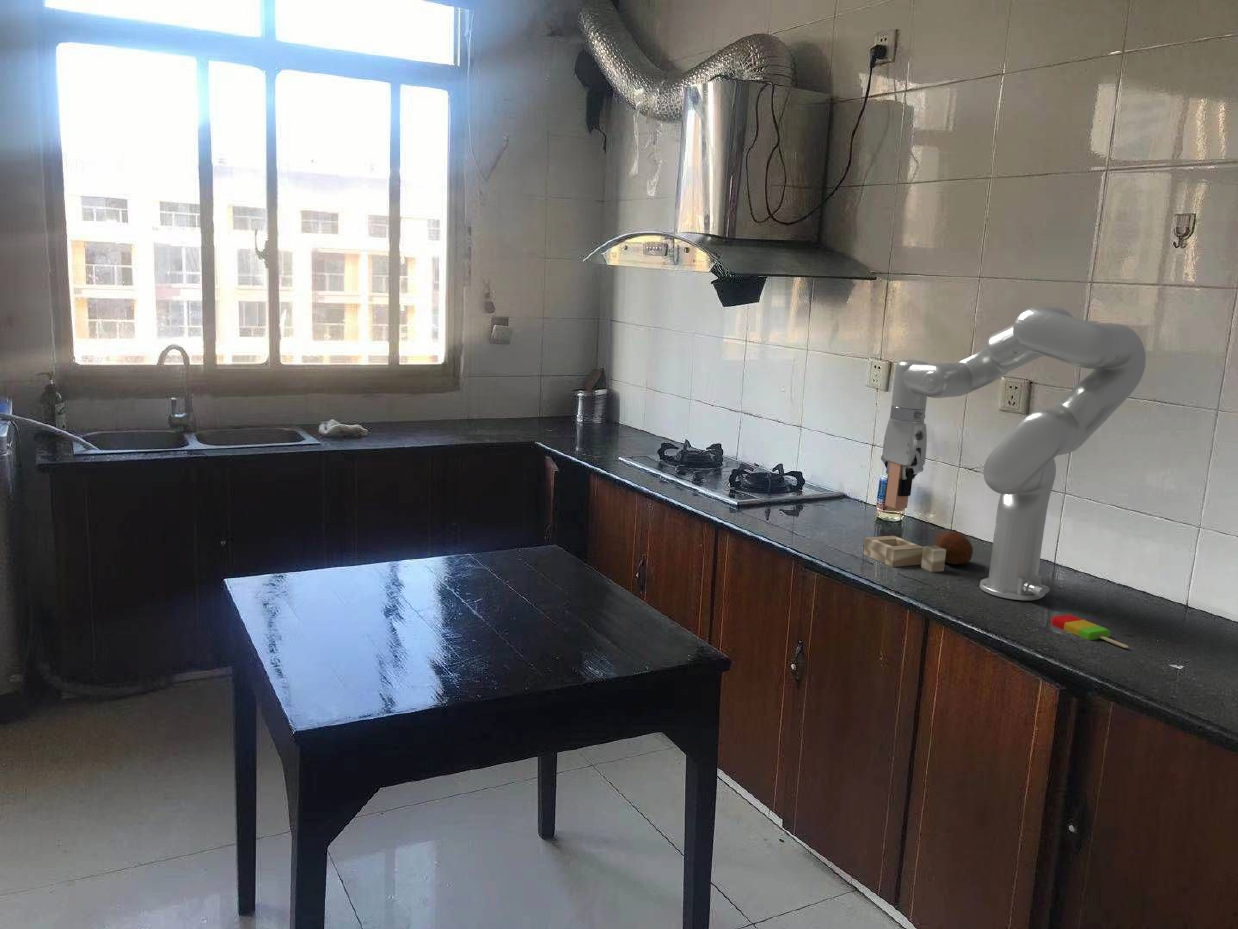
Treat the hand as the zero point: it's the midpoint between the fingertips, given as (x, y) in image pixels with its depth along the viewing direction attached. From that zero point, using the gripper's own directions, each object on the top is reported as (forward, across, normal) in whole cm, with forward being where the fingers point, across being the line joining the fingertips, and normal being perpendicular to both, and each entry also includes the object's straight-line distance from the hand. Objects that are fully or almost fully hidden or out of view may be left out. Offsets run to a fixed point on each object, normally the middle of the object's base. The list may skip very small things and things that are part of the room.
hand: (898, 493), depth 224 cm
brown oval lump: (+16, -6, -13) cm, 21 cm away
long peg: (+3, 0, 0) cm, 3 cm away
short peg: (+16, -10, -4) cm, 19 cm away
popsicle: (+16, -52, -5) cm, 55 cm away
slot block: (+16, 0, 0) cm, 16 cm away
